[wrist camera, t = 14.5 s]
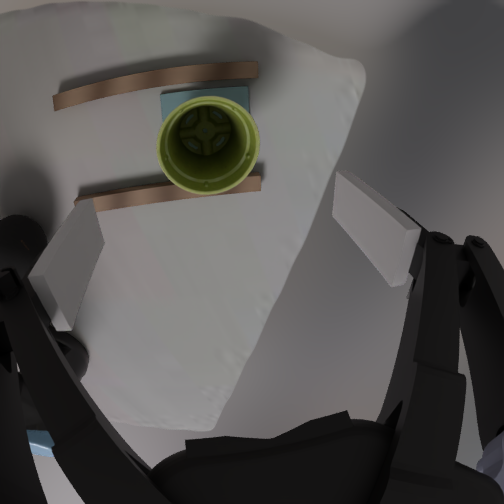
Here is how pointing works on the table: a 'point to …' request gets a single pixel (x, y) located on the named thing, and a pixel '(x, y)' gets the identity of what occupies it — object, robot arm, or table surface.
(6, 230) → the speaker
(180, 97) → the marked pad
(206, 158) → the plant pot
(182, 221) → the table surface
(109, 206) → the pair of walnut rails
